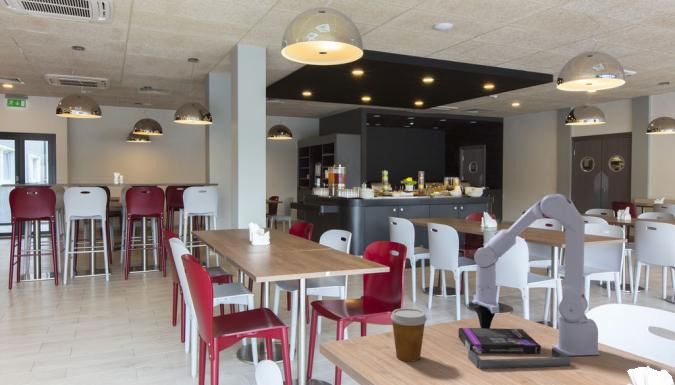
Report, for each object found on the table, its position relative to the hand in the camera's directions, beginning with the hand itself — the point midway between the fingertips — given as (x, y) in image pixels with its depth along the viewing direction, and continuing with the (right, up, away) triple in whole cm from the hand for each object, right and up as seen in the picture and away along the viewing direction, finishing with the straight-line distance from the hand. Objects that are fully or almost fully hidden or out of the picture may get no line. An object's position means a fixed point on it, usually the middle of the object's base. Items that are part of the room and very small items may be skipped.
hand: (485, 330), depth 147 cm
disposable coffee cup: (-26, -2, -19) cm, 32 cm away
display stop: (+2, -2, -22) cm, 22 cm away
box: (+1, -2, -9) cm, 9 cm away
